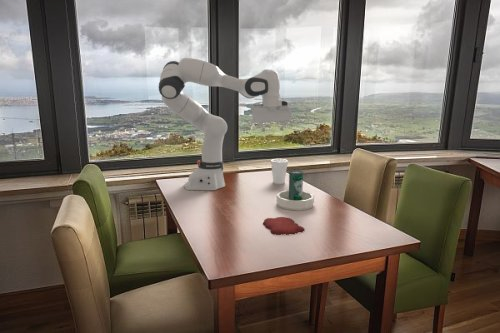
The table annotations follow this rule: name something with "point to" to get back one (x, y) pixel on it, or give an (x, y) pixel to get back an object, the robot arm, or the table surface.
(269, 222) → the red flat splat
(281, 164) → the foam cup
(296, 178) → the can
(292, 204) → the bowl
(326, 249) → the table surface
